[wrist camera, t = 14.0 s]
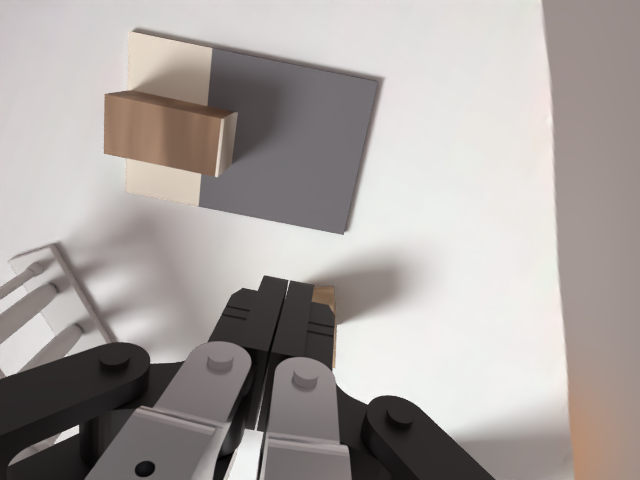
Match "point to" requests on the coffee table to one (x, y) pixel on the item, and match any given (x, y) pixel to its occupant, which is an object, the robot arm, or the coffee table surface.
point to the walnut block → (169, 132)
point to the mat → (259, 132)
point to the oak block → (327, 297)
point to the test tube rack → (50, 314)
